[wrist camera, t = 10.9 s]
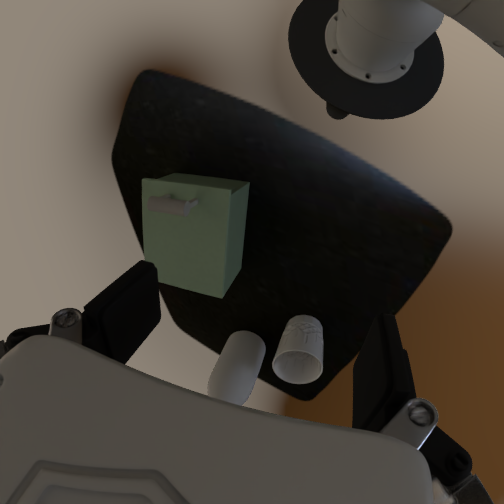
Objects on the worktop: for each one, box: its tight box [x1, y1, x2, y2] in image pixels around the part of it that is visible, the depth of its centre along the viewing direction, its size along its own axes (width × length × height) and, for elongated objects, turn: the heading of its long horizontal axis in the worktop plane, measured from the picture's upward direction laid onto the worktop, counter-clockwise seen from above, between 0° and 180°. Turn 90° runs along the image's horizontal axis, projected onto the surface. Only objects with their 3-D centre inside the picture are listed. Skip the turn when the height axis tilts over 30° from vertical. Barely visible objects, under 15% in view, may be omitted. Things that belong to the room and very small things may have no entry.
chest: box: [158, 173, 250, 295], centre depth 43 cm, size 15×13×9 cm
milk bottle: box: [208, 331, 266, 405], centre depth 46 cm, size 8×8×20 cm
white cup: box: [272, 315, 323, 384], centre depth 46 cm, size 8×8×10 cm
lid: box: [142, 178, 232, 298], centre depth 36 cm, size 15×13×5 cm
